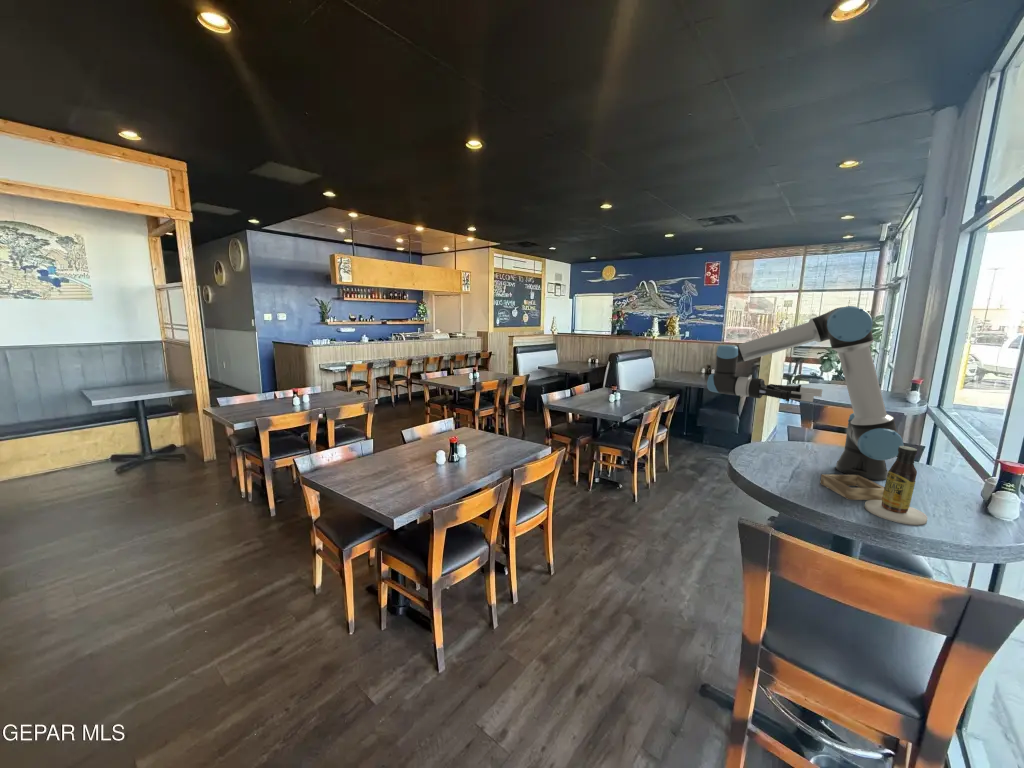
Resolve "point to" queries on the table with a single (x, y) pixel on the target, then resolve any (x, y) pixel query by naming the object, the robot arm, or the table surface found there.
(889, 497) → the sauce bottle
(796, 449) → the table surface
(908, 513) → the saucer
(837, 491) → the tray
